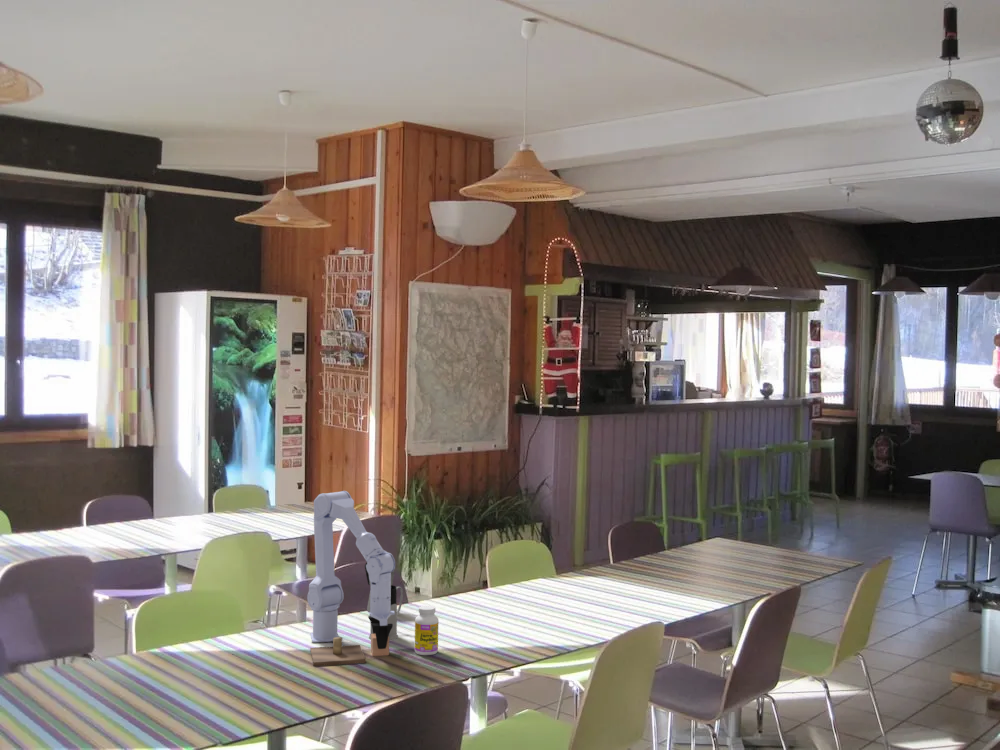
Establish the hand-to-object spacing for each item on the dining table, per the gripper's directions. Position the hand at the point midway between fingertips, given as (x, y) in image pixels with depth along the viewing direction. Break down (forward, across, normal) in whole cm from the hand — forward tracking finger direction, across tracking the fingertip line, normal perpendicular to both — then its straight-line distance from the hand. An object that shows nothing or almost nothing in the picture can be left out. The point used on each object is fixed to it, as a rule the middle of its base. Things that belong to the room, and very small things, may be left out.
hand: (380, 644), depth 274 cm
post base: (+2, -1, +12) cm, 12 cm away
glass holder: (+3, +18, -5) cm, 19 cm away
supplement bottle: (+3, -2, -13) cm, 13 cm away
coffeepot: (+2, +49, -6) cm, 50 cm away
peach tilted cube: (+2, 0, 0) cm, 2 cm away
